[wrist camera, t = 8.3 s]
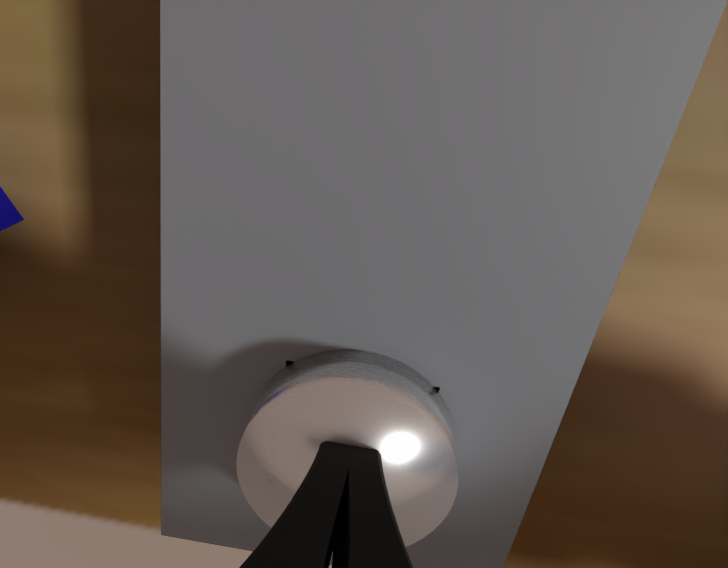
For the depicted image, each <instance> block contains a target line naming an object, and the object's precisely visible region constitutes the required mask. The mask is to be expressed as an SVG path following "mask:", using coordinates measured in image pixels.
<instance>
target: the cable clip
mask: <svg viewBox="0 0 728 568" xmlns="http://www.w3.org/2000/svg"><path fill="white" fill-rule="evenodd" d="M22 220H24V219H23V218H22V216H21V215H20V214H19V212H18V211H17V209H16V208H15V207H14V205H13V204H12V202H11V201H10V200H9V198H8V197H7V195H6V194H5V193H4V191H3V190H2V188H1V187H0V231H2V230H4V229H6V228H8V227H10V226H12V225H14V224H16V223H18V222H20V221H22Z"/></svg>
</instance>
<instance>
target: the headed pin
mask: <svg viewBox="0 0 728 568" xmlns="http://www.w3.org/2000/svg"><path fill="white" fill-rule="evenodd" d="M324 441H329V442H335V443H341V444H346V445H352V446H358V447H364V448H370V449H375V450H378V451H379V453H380V454H381V459H382V466H383V472H384V477H385V482H386V486H387V490H388V494H389V498H390V501H391V505H392V508H393V512H394V515H395V518H396V521H397V524H398V527H399V530H400V533H401V536H402V539H403V542H404V545H405V547H407V546H409V545H412V544H414V543H416V542H417V541H419V540H421V539H423V538H424V537H425V536H427V535H428V534H430V533H431V532H432V531H433V530H434V529H435V528H436V527H437V526H439V525H440V524H441V522H442V521H443V520H444V518H445V517H446V516H447V515H448V513H449V511H450V509H451V507H452V505H453V503H454V500H455V497H456V494H457V488H458V466H457V457H456V448H455V439H454V430H453V424H452V419H451V415H450V413H449V410H448V407H447V405H446V403H445V402H444V400H443V398H442V396H441V395H440V394H439V392H438V391H437V390H436V388H435V387H434V386H433V385H432V384H431V383H430V382H429V381H428V380H427V379H426V378H425V377H424V376H422V375H421V374H420V373H418V372H417V371H416V370H414V369H413V368H411V367H409V366H408V365H406V364H404V363H402V362H400V361H398V360H396V359H393V358H391V357H388V356H385V355H382V354H378V353H374V352H369V351H364V350H352V349H342V350H330V351H323V352H319V353H315V354H311V355H308V356H305V357H303V358H301V359H298V360H296V361H294V362H292V363H291V364H289V365H287V366H285V367H284V368H283V369H282V370H280V371H279V372H278V373H276V374H275V375H274V376H273V377H272V378H271V380H270V381H269V382H268V383H267V384H266V386H265V387H264V389H263V390H262V391H261V394H260V396H259V398H258V400H257V402H256V404H255V407H254V409H253V412H252V414H251V417H250V419H249V422H248V424H247V426H246V429H245V431H244V434H243V436H242V439H241V441H240V444H239V448H238V452H237V461H236V467H237V476H238V480H239V484H240V487H241V490H242V492H243V494H244V496H245V498H246V500H247V502H248V503H249V505H250V506H251V508H252V509H253V510H254V511H255V513H256V514H257V515H258V516H259V517H260V518H261V519H262V520H263V521H264V522H265V523H266V524H267V525H268V526H270V527H271V528H272V527H273V525H274V524H275V523H276V521H277V520H278V518H279V517H280V516H281V514H282V513H283V512H284V510H285V509H286V507H287V506H288V504H289V503H290V501H291V499H292V498H293V496H294V495H295V493H296V491H297V490H298V488H299V487H300V485H301V483H302V482H303V480H304V478H305V476H306V475H307V473H308V471H309V469H310V467H311V465H312V463H313V461H314V459H315V457H316V454H317V452H318V449H319V446H320V444H321V443H323V442H324ZM332 554H333V552H332Z"/></svg>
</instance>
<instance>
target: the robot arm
mask: <svg viewBox="0 0 728 568" xmlns="http://www.w3.org/2000/svg"><path fill="white" fill-rule="evenodd" d="M332 552H333V555H332ZM331 556H332V568H413V565H412V563H411V560H410V558H409V555H408V552H407V550H406V547H405V545H404V542H403V539H402V536H401V533H400V530H399V527H398V524H397V521H396V518H395V515H394V512H393V508H392V505H391V501H390V498H389V494H388V490H387V486H386V482H385V477H384V472H383V466H382V459H381V454H380V453H379V451H378V450H375V449H370V448H364V447H358V446H352V445H346V444H341V443H335V442H329V441H324V442H323V443H321V444H320V446H319V449H318V452H317V454H316V457H315V459H314V461H313V463H312V465H311V467H310V469H309V471H308V473H307V475H306V476H305V478H304V480H303V482H302V483H301V485H300V487H299V488H298V490H297V491H296V493H295V495H294V496H293V498H292V499H291V501H290V503H289V504H288V506H287V507H286V509H285V510H284V512H283V513H282V514H281V516H280V517H279V518H278V520H277V521H276V523H275V524H274V525H273V527H272V528H271V529H270V531H269V532H268V534H267V535H266V536H265V537H264V539H263V540H262V541H261V543H260V544H259V545H258V546H257V548H256V549H255V550H254V551H253V552H252V554H251V555H250V556H249V557H248V558H247V560H246V561H245V562H244V563H243V564H242V565H241V566H240V568H329V564H330V560H331Z"/></svg>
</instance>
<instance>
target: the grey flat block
mask: <svg viewBox="0 0 728 568" xmlns="http://www.w3.org/2000/svg"><path fill="white" fill-rule="evenodd" d="M727 1H728V0H160V134H161V535H164V536H170V537H176V538H181V539H187V540H193V541H198V542H204V543H210V544H215V545H221V546H227V547H232V548H238V549H244V550H249V551H254V550H255V549H256V548H257V546H258V545H259V544H260V543H261V541H262V540H263V539H264V537H265V536H266V535H267V534H268V532H269V531H270V529H271V527H270V526H268V525H267V524H266V523H265V522H264V521H263V520H262V519H261V518H260V517H259V516H258V515H257V514H256V513H255V511H254V510H253V509H252V508H251V506H250V505H249V503H248V502H247V500H246V498H245V496H244V494H243V492H242V490H241V487H240V484H239V480H238V476H237V467H236V461H237V452H238V448H239V444H240V441H241V439H242V436H243V434H244V431H245V429H246V426H247V424H248V422H249V419H250V417H251V414H252V412H253V409H254V407H255V404H256V402H257V400H258V398H259V396H260V394H261V391H262V390H263V389H264V387H265V386H266V384H267V383H268V382H269V381H270V380H271V378H272V377H273V376H274V375H275V374H276V373H278V372H279V371H280V370H282V369H283V368H284V367H285V366H287V365H289V364H291V363H292V362H294V361H296V360H298V359H301V358H303V357H305V356H308V355H311V354H315V353H319V352H323V351H330V350H342V349H352V350H364V351H369V352H374V353H378V354H382V355H385V356H388V357H391V358H393V359H396V360H398V361H400V362H402V363H404V364H406V365H408V366H409V367H411V368H413V369H414V370H416V371H417V372H418V373H420V374H421V375H422V376H424V377H425V378H426V379H427V380H428V381H429V382H430V383H431V384H432V385H433V386H434V387H435V388H436V390H437V391H438V392H439V394H440V395H441V396H442V398H443V400H444V402H445V403H446V405H447V407H448V410H449V413H450V415H451V419H452V424H453V430H454V439H455V448H456V457H457V466H458V488H457V494H456V497H455V500H454V503H453V505H452V507H451V509H450V511H449V513H448V515H447V516H446V517H445V518H444V520H443V521H442V522H441V524H440V525H439V526H437V527H436V528H435V529H434V530H433V531H432V532H431V533H430V534H428V535H427V536H425V537H424V538H423V539H421V540H419V541H417V542H416V543H414V544H412V545H409V546H407V547H406V550H407V552H408V555H409V558H410V560H411V563H412V565H413V568H503V566H504V564H505V561H506V559H507V556H508V554H509V551H510V549H511V546H512V544H513V541H514V539H515V536H516V534H517V531H518V529H519V526H520V523H521V521H522V518H523V516H524V513H525V511H526V508H527V506H528V503H529V501H530V498H531V496H532V493H533V491H534V488H535V486H536V483H537V481H538V478H539V476H540V473H541V471H542V468H543V465H544V463H545V460H546V458H547V455H548V453H549V450H550V448H551V445H552V443H553V440H554V438H555V435H556V433H557V430H558V428H559V425H560V423H561V420H562V418H563V415H564V412H565V410H566V407H567V405H568V402H569V400H570V397H571V395H572V392H573V390H574V387H575V385H576V382H577V380H578V377H579V375H580V372H581V370H582V367H583V365H584V362H585V360H586V357H587V354H588V352H589V349H590V347H591V344H592V342H593V339H594V337H595V334H596V332H597V329H598V327H599V324H600V322H601V319H602V317H603V314H604V312H605V309H606V307H607V304H608V302H609V299H610V296H611V294H612V291H613V289H614V286H615V284H616V281H617V279H618V276H619V274H620V271H621V269H622V266H623V264H624V261H625V259H626V256H627V254H628V251H629V249H630V246H631V243H632V241H633V238H634V236H635V233H636V231H637V228H638V226H639V223H640V221H641V218H642V216H643V213H644V211H645V208H646V206H647V203H648V201H649V198H650V196H651V193H652V191H653V188H654V185H655V183H656V180H657V178H658V175H659V173H660V170H661V168H662V165H663V163H664V160H665V158H666V155H667V153H668V150H669V148H670V145H671V143H672V140H673V138H674V135H675V132H676V130H677V127H678V125H679V122H680V120H681V117H682V115H683V112H684V110H685V107H686V105H687V102H688V100H689V97H690V95H691V92H692V90H693V87H694V85H695V82H696V80H697V77H698V74H699V72H700V69H701V67H702V64H703V62H704V59H705V57H706V54H707V52H708V49H709V47H710V44H711V42H712V39H713V37H714V34H715V32H716V29H717V27H718V24H719V22H720V19H721V16H722V14H723V11H724V9H725V6H726V4H727ZM332 555H333V554H332ZM329 565H332V556H331V560H330V564H329Z"/></svg>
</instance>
